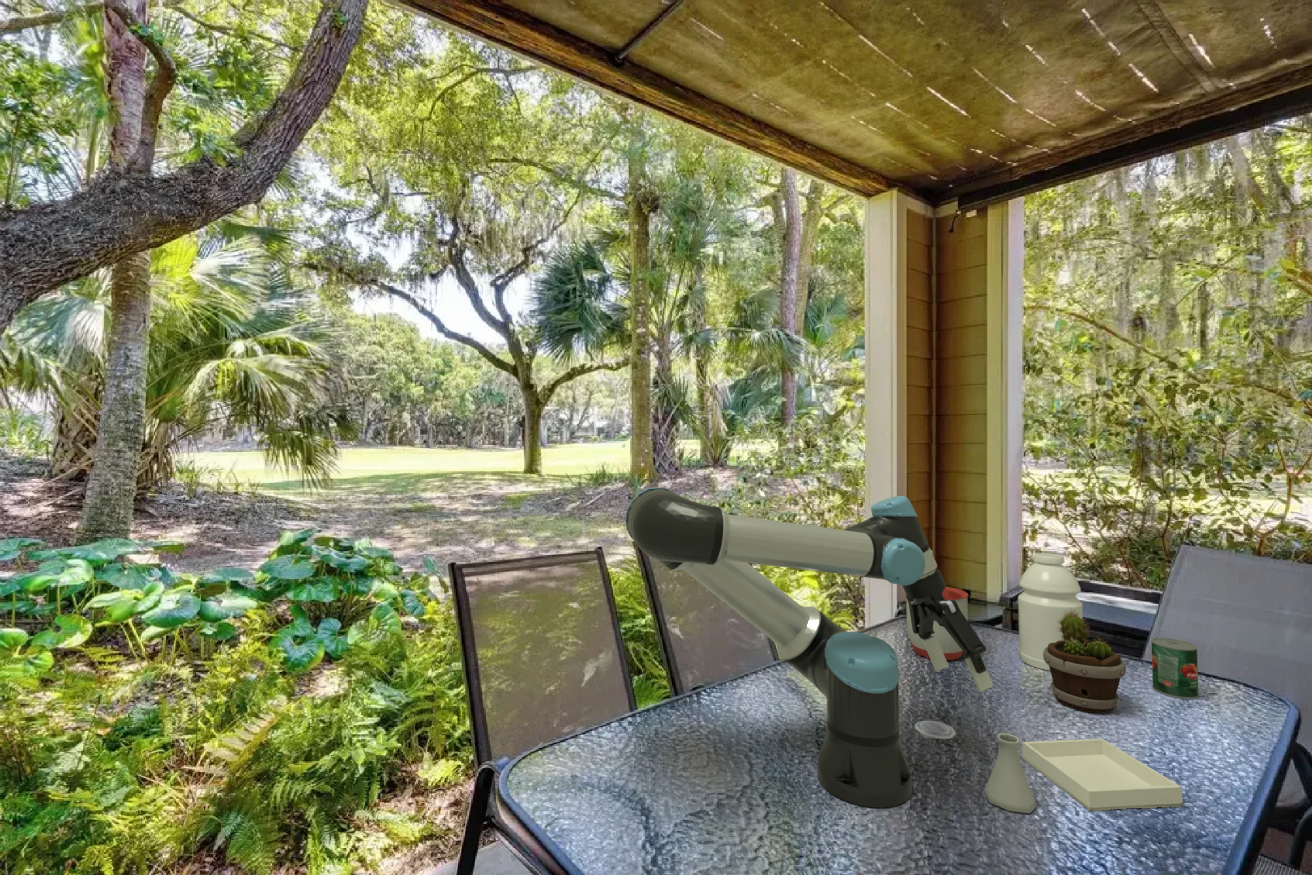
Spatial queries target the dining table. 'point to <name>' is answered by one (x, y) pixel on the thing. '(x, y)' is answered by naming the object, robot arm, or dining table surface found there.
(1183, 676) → the canned tomato
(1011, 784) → the flask
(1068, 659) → the flowerpot
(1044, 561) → the bottle
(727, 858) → the dining table surface
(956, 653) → the citrus juicer
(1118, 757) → the box
